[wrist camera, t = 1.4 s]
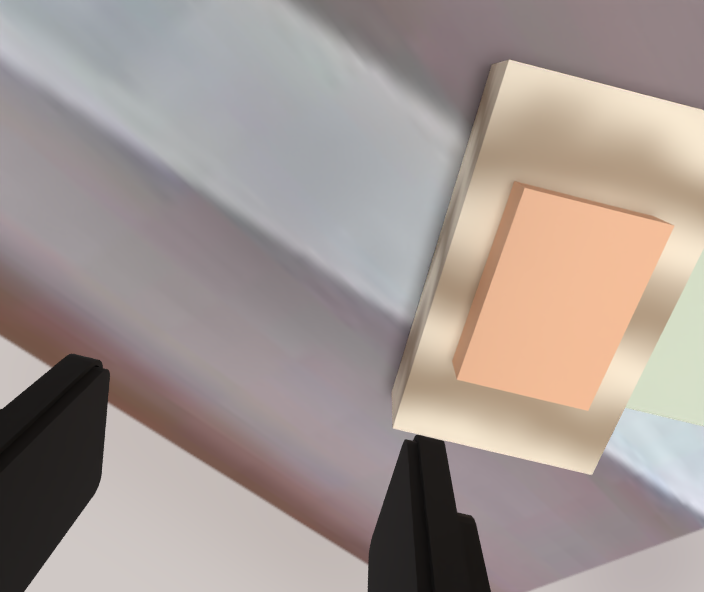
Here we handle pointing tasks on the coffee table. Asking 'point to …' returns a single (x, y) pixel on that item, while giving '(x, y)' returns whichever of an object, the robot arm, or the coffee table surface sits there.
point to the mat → (677, 360)
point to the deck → (481, 227)
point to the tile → (557, 295)
